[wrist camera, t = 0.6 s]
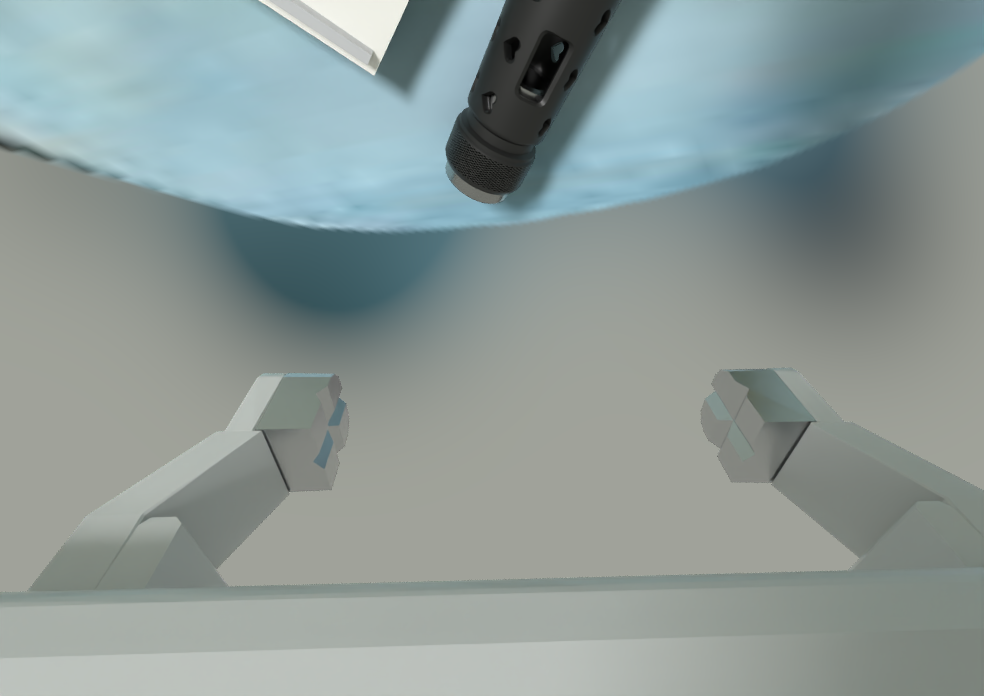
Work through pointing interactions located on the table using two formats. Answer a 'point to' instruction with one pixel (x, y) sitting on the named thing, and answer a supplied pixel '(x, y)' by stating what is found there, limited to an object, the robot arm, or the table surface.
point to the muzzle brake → (520, 91)
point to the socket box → (347, 25)
